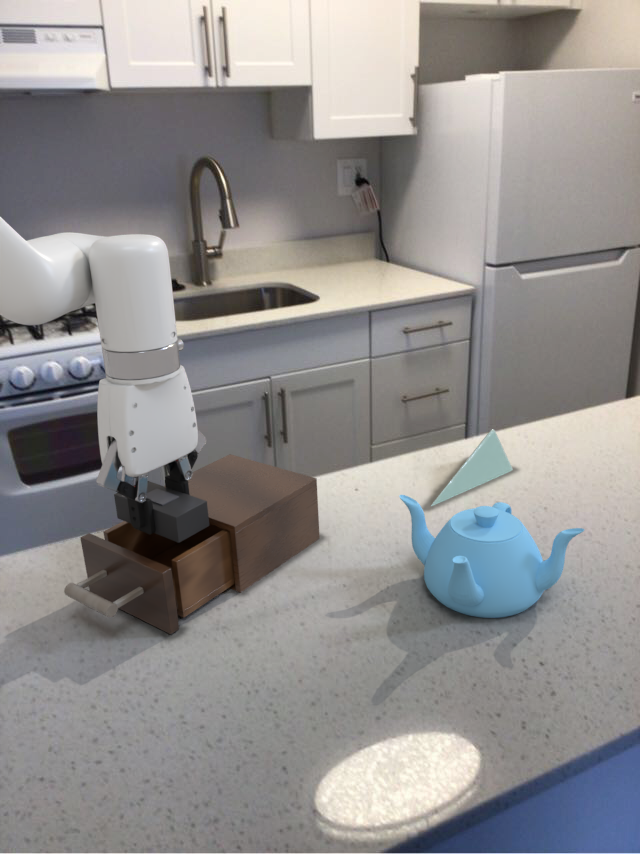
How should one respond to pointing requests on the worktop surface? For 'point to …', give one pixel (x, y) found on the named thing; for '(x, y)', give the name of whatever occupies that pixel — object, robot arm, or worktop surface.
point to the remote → (170, 512)
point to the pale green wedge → (478, 468)
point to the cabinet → (258, 513)
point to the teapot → (485, 560)
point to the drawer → (153, 573)
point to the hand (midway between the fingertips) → (162, 519)
